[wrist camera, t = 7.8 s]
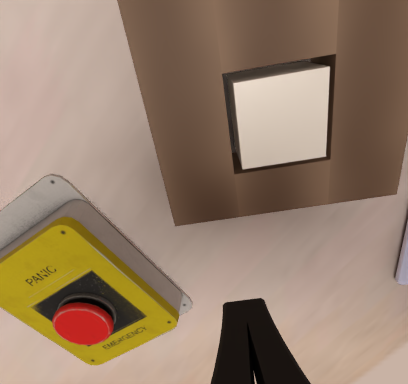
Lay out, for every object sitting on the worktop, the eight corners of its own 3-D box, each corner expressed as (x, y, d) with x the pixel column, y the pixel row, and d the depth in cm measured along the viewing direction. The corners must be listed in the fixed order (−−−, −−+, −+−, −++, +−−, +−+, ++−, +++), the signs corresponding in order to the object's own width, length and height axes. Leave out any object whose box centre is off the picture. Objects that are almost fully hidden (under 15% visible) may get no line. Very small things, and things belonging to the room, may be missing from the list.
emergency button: (101, 394, 22) (-86, 281, 16) (115, 341, 26) (-32, 234, 20) (197, 351, 20) (19, 199, 14) (197, 300, 24) (58, 164, 18)
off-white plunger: (303, 60, 15) (329, 66, 12) (303, 135, 17) (325, 156, 14) (226, 74, 15) (233, 83, 12) (234, 146, 17) (242, 169, 14)
